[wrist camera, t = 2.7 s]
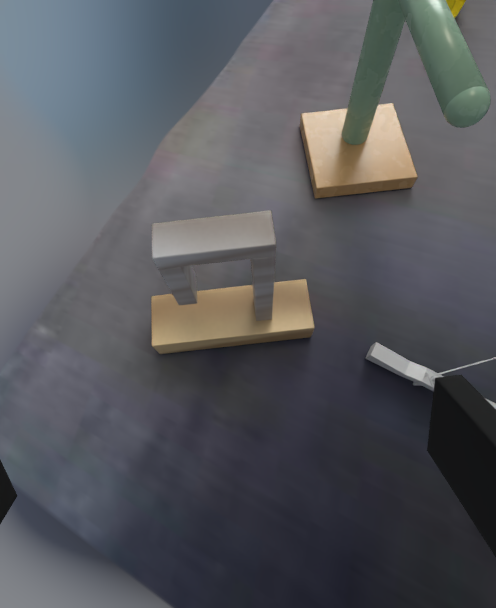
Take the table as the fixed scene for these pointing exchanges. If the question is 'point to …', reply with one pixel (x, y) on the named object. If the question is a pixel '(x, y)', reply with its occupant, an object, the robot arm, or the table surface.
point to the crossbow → (407, 367)
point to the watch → (455, 6)
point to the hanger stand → (382, 118)
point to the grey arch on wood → (227, 301)
